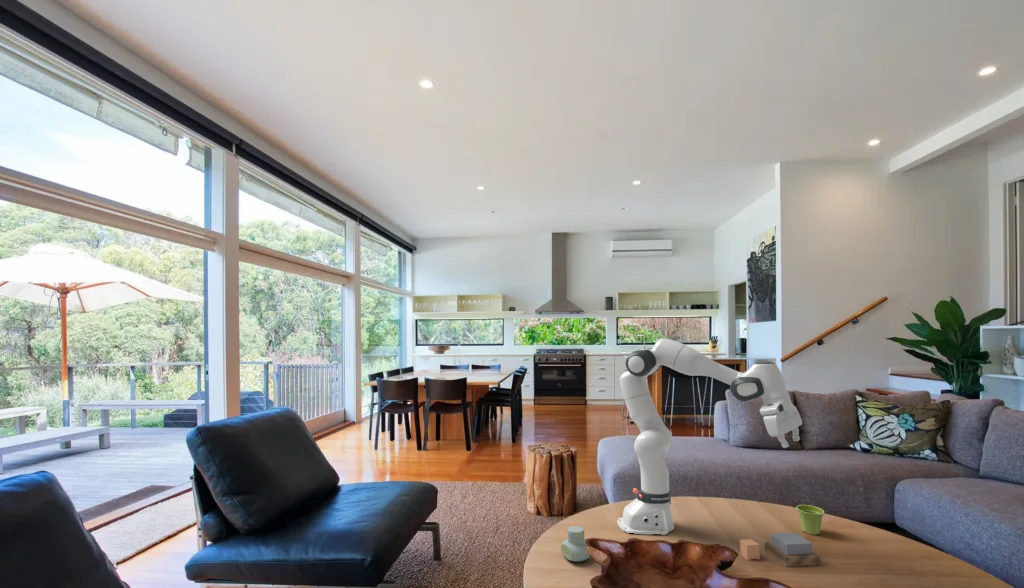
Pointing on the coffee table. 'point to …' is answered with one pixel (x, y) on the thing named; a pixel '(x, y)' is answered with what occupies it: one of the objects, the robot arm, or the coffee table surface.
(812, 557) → the lower tower block
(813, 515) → the plant pot
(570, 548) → the air freshener
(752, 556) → the rust cube
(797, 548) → the upper tower block
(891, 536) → the coffee table surface
